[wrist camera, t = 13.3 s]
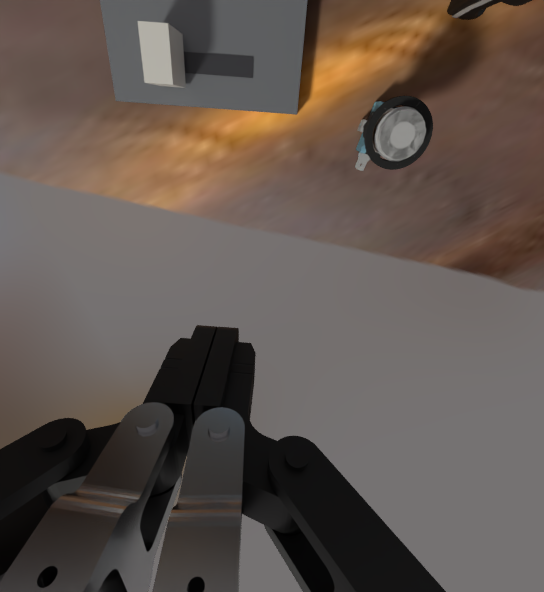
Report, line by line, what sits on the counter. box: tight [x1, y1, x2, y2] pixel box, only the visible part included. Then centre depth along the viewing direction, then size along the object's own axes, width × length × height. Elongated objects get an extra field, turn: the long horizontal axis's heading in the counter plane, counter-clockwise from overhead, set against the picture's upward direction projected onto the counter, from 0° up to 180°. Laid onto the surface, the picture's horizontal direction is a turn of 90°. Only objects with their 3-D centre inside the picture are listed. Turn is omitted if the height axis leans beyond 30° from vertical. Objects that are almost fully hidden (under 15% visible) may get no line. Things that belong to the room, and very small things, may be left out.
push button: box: [355, 96, 433, 171], centre depth 29 cm, size 7×5×10 cm
